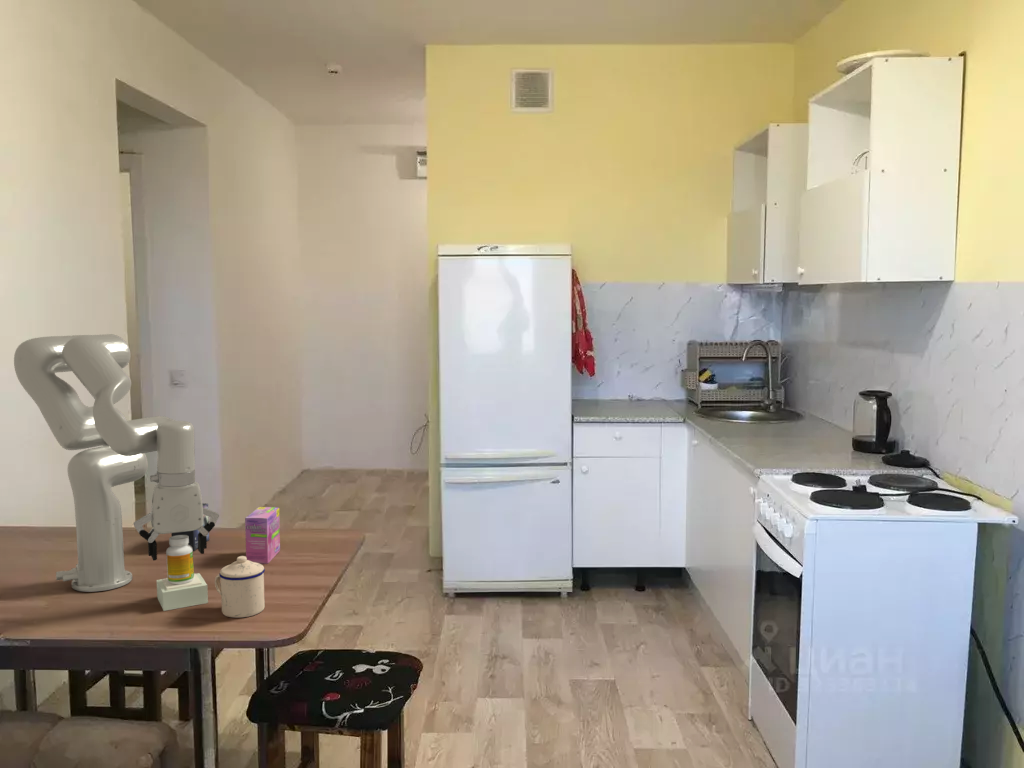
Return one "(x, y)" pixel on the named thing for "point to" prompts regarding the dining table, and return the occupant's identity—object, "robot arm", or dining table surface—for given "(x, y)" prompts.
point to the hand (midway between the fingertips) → (177, 555)
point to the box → (262, 534)
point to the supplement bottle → (179, 560)
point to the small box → (194, 532)
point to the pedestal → (182, 593)
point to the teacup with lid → (241, 588)
